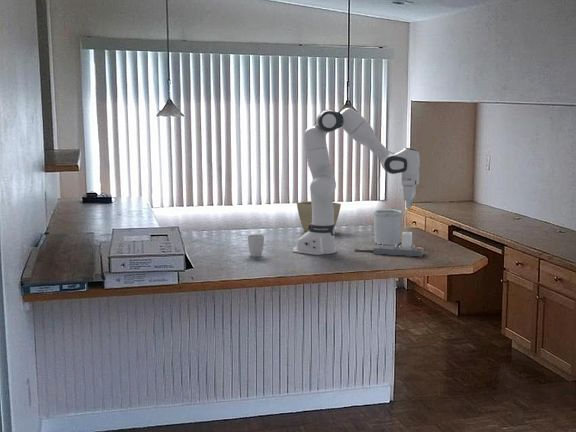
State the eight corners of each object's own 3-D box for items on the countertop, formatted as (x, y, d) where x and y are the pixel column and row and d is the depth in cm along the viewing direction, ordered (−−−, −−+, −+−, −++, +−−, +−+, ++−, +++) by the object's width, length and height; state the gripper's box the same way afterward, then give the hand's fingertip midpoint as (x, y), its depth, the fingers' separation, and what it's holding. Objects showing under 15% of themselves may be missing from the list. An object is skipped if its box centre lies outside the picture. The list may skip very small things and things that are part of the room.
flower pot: (319, 227, 432) (319, 199, 430) (341, 231, 418) (341, 203, 415) (295, 230, 420) (295, 202, 418) (317, 235, 406) (317, 206, 403)
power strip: (352, 252, 361) (353, 244, 360) (356, 249, 369) (356, 241, 368) (421, 257, 351) (421, 248, 350) (423, 253, 359) (423, 245, 358)
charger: (401, 249, 355) (402, 232, 354) (402, 247, 359) (403, 231, 358) (410, 249, 354) (411, 233, 353) (411, 248, 358) (412, 231, 357)
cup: (267, 255, 354) (267, 235, 353) (258, 258, 347) (258, 238, 346) (253, 253, 358) (253, 233, 357) (244, 256, 351) (244, 236, 350)
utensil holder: (387, 246, 375) (388, 214, 373) (367, 242, 387) (368, 210, 384) (406, 243, 385) (407, 211, 382) (386, 239, 396) (386, 208, 393)
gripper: (406, 177, 369) (405, 204, 371) (401, 182, 349) (400, 210, 351) (418, 178, 367) (418, 204, 369) (414, 182, 347) (413, 210, 350)
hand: (409, 207), depth 360 cm, fingers open, 8 cm apart
